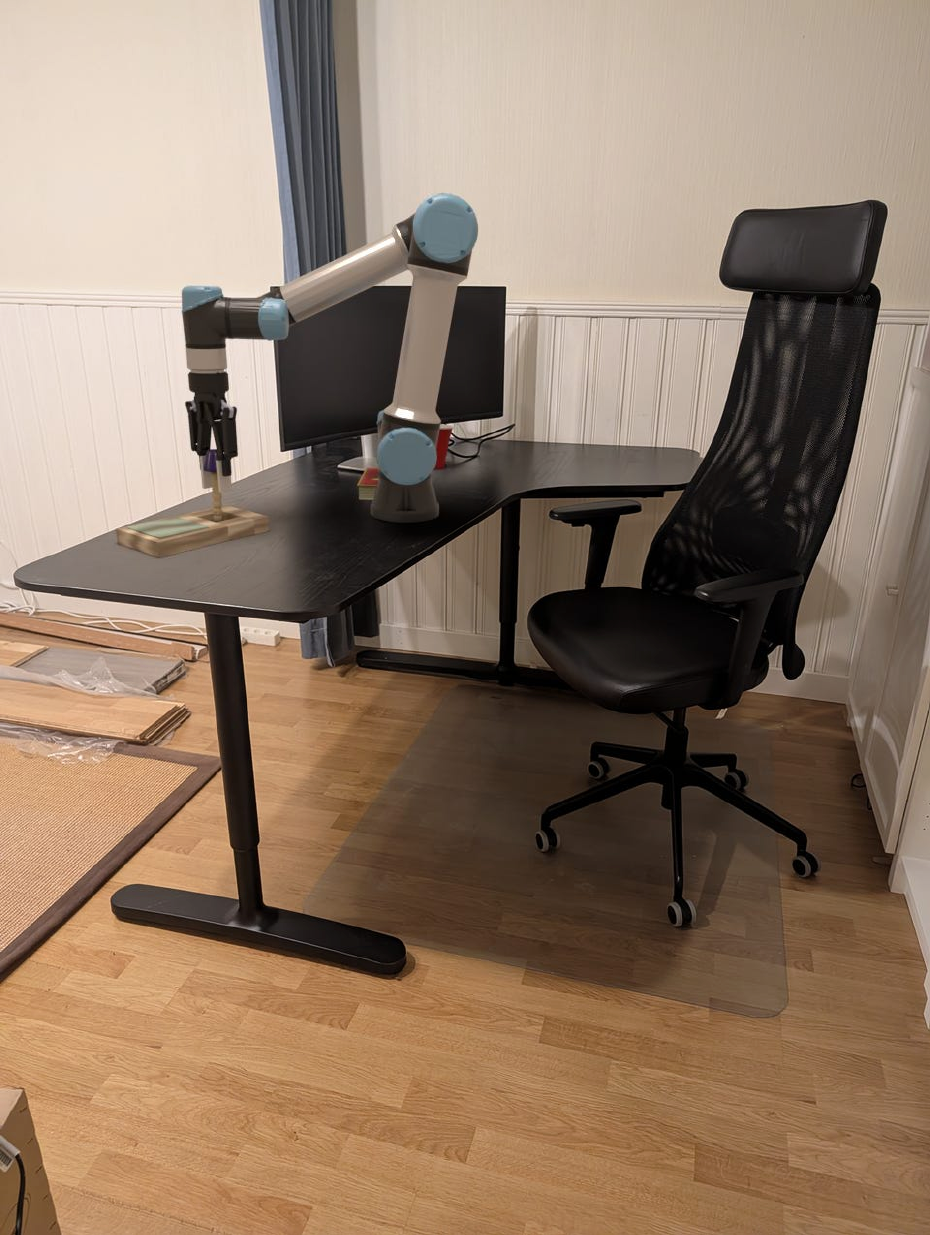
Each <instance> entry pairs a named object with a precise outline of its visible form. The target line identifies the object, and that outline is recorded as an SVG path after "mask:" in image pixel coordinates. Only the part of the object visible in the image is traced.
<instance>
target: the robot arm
mask: <svg viewBox="0 0 930 1235" xmlns="http://www.w3.org/2000/svg"><path fill="white" fill-rule="evenodd" d="M476 216H477V215H476V214H475V212H474V210H473V208H472V206H471V205H470V204H469V203H468V202H467V201H466V200H465V199H463V198H462V197H460V196H458V195H455V194H452V193H447V192H446V193H445V192H440V193H436V194H432V195H430V196H428V197H426V198H425V199H424V200H423V201H422V202H420V205H419V206H418V208H417V209H416V211H415V212H414V213H413V214H411V215H410V216H409V217H407V218H405V219H404V220H402V221H399V222H398V223H396V224H394V225H393V227H392V228H393V229H392V231H391V232H390V233H387V234H386V235H383V236H381V237H380V238H377V239H376V240H374V241H371V242H370V243H369V242H368V244H365V245H363V246H361V247H359V248H357V249H355V250H353V251H351V252H349V253H347V254H344V255H342V256H341V257H338V258H337V259H334V260H333V261H331V262H328V263H326V264H324V265H322V266H320V267H318V268H316V269H314V270H312V271H309V272H308V273H306V274H304V275H301V276H300V277H297V278H296V279H294V280H291V281H289V282H287V283H285V284H283V285H281V286H279V287H277V288H275V289H272V290H271V291H269V292H266V293H264V294H262V295H260V296H257V297H227V296H226V297H225V296H224V294H223V289H222V288H221V287H220V286H217V285H216V286H215V285H212V286H211V285H186V286H184V287H183V289H182V290H181V305H182V306H181V308H182V309H181V314H182V315H181V316H182V322H183V324H182V325H183V331H184V333H183V335H184V342H185V359H186V368H187V369H188V370H190V371H188V373H187V379H188V380H187V381H188V389H189V391H190V392H191V393H194V396H193V399H192V400H188V401H185V403H184V405H185V409H186V413H187V418H188V431H189V432H188V434H189V441H190V444H189V445H190V450H191V451H192V452H195V453H196V454H197V456H198V460H199V461H198V462H199V470H200V476H201V477H200V478H201V487H202V489H203V490H206V489H212V487H213V484H212V479H213V477H212V472H207V471H205V470H204V464H205V459H206V455H207V451H208V450H210V449H211V446H212V444H211V443H212V434H213V437H214V442H215V447H216V449H217V452H218V457H219V458H216V466H217V479H218V491H219V493H221V494H223V493H227V492H228V493H229V492H233V489H232V488H233V487H232V486H233V485H232V474H233V473H232V471H233V470H232V459H234V458H237V457H239V456H238V455H239V450H238V449H239V448H238V434H237V420H236V419H237V411H238V409H237V407H236V406H231V405H229V404H228V402H227V397H226V393H227V392H228V391H229V390H230V384H229V383H230V382H229V373H228V372H227V371H225V370H227V369H228V361H227V360H228V359H227V358H228V357H227V348H226V347H227V344H226V342H227V341H226V339H227V340H228V339H229V340H235V339H236V340H257V341H258V340H261V341H262V340H264V341H269V342H271V341H275V340H280V341H281V340H285V339H287V338H288V336H289V329H290V327H291V326H294V325H295V324H297V323H298V322H301V321H303V320H306V319H308V318H309V317H312V316H314V315H315V314H318V313H320V312H323V311H324V310H326V309H328V308H330V307H333V306H335V305H337V304H339V303H341V302H343V301H345V300H347V299H349V298H351V297H354V296H355V295H358V294H359V293H362V292H365V291H366V290H368V289H371V288H372V287H375V286H377V285H379V284H381V283H383V282H385V281H387V280H389V279H391V278H393V277H396V276H398V275H399V274H402V273H404V272H406V271H410V273H411V274H412V283H411V290H410V294H409V301H408V307H407V312H406V318H405V325H404V330H403V331H404V332H403V337H402V343H401V344H402V345H401V349H400V354H399V355H400V356H399V362H398V368H397V373H396V374H397V375H396V381H395V386H394V387H395V388H394V392H393V393H394V394H393V399H392V402H391V404H389V405H388V406H387V407H386V408H384V409H382V410H381V411H379V412H378V414H377V421H376V426H377V448H376V451H375V453H376V454H375V457H376V458H375V459H376V463H377V468H378V484H377V487H376V490H375V494H374V499H373V500H371V504H370V515H371V517H372V518H374V519H376V520H379V521H383V522H384V521H385V522H389V523H400V524H401V523H402V524H403V523H405V524H406V523H408V524H409V523H411V524H412V523H422V522H427V521H431V520H434V519H436V518H438V517H439V514H440V512H439V511H440V506H439V505H440V504H439V502H438V501H437V498H436V494H435V489H434V486H433V482H432V472H433V470H435V469H434V467H435V464H436V460H437V456H436V453H437V452H436V446H437V440H438V434H439V429H440V424H442V423H441V422H442V420H441V419H440V417H439V415H438V414H437V412H436V407H437V402H438V397H439V396H438V395H439V392H440V386H441V385H440V384H441V379H442V376H443V375H442V374H443V369H444V363H445V358H446V352H447V346H448V340H449V334H450V330H451V329H450V328H451V323H452V319H453V313H454V306H455V302H456V296H457V290H458V287H459V285H460V284H461V283H462V282H464V281H465V280H467V279H468V275H469V270H470V263H471V259H472V258H471V257H472V253H473V249H474V247H475V244H476V243H477V239H478V235H479V224H478V219H477V217H476Z"/></svg>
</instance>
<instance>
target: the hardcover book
mask: <svg viewBox="0 0 930 1235" xmlns="http://www.w3.org/2000/svg"><path fill="white" fill-rule="evenodd" d="M377 484H378V467H365V470H364V472H363V474H362V475H361V477H360V479H359V481H358V483H357V485H356V488H358V500H369V501H373V499H374V494H375V490H376V487H377Z"/></svg>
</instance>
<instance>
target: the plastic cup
mask: <svg viewBox="0 0 930 1235" xmlns="http://www.w3.org/2000/svg"><path fill="white" fill-rule="evenodd" d="M454 429H455V426H453V425H451V424H450V425H449V424H443V423H440V429H439V434H438V440H437V446H436V452H437V453H436V456H437V460H436V464H435V467H434V469H433V470H441V469H444V468H445V466H446V459H447V455H448V450H449V443H450V438H451V434H452V431H453V430H454Z"/></svg>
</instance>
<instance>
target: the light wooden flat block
mask: <svg viewBox="0 0 930 1235" xmlns="http://www.w3.org/2000/svg"><path fill="white" fill-rule="evenodd" d="M213 509H214V507H211V508H206V509H202V510H197V511H193V512H188V513H182V514H178V515H174V516H169V517H164V518H160V519H155V520H150V521H145V522H140V523H135V524H131V525H127V526H123V527H117V528H115V532H116V533H115V534H116V542H117V544H119V545H121V546H124V547H127V548H129V549H132V550H135V551H138V552H141V553H144V554H147V555H149V556H153V557H155V558H159V559H160V558H165V557H167V556H168V557H170V556H172V555H176V554H181V553H184V552H189V551H193V550H197V549H201V548H205V547H208V546H212V545H216V544H221V543H225V542H229V541H233V540H236V539H238V540H239V539H241V538H245V537H250V536H254V535H257V534H261V533H265V532H270V520H269V516H268V515H264V514H260V513H256V512H252V511H248V510H246V509H241V508H237V507H234V506H230V505H222V506H221V509H222V514H221V516H222V521H221V522H217V523H215V522H214V513H213Z"/></svg>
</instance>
